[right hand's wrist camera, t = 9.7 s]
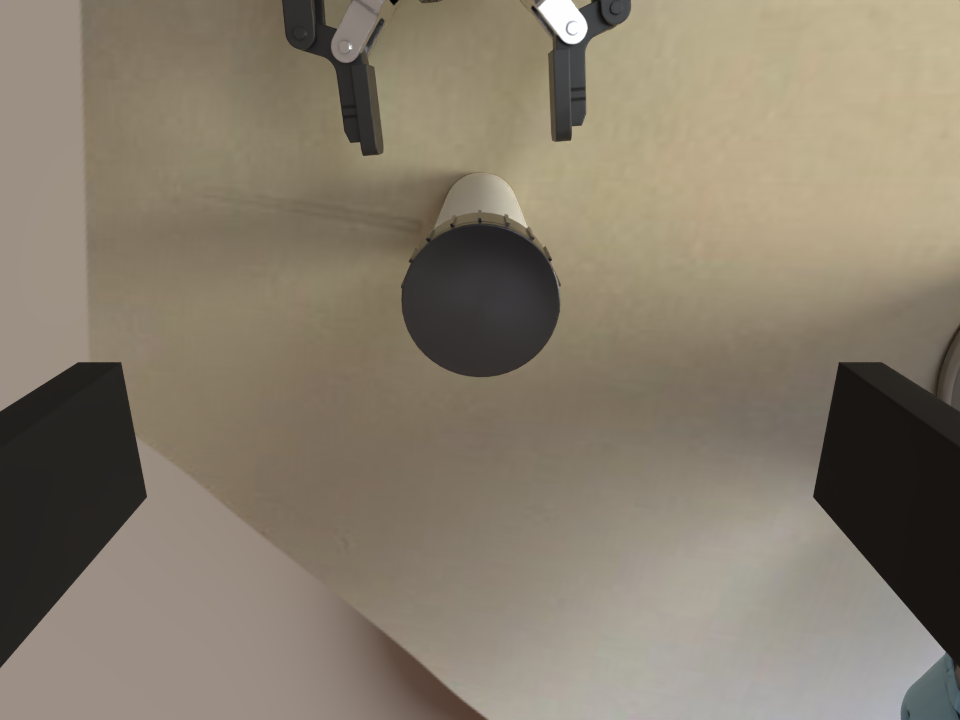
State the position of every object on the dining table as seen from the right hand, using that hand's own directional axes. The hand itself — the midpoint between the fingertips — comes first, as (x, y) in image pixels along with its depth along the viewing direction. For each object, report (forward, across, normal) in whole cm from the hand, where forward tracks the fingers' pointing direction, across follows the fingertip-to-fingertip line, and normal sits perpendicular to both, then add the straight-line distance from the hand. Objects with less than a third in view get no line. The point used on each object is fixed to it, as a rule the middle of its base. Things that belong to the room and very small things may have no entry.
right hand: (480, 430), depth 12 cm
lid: (+8, 0, 0) cm, 8 cm away
